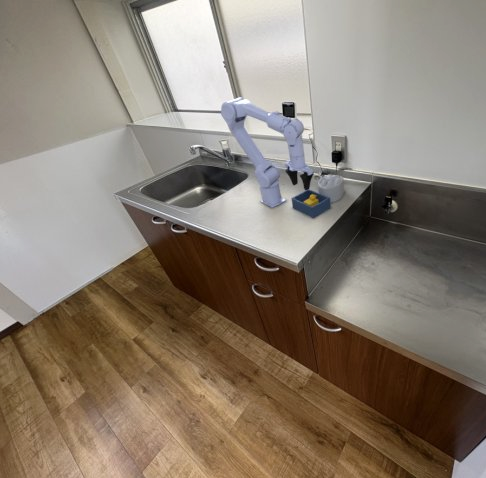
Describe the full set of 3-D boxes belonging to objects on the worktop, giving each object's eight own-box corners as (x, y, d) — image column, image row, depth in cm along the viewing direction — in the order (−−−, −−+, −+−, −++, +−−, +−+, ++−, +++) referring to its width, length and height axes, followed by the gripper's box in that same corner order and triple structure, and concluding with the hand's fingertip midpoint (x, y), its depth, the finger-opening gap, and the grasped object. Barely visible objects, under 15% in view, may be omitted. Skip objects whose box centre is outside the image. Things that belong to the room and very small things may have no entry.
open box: (292, 208, 109) (291, 198, 106) (309, 198, 114) (308, 189, 111) (313, 218, 101) (312, 208, 98) (330, 208, 106) (330, 197, 103)
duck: (303, 208, 107) (302, 196, 104) (313, 202, 110) (312, 191, 107) (310, 211, 105) (308, 199, 101) (320, 205, 107) (319, 194, 104)
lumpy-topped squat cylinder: (346, 190, 116) (345, 173, 111) (335, 204, 107) (335, 186, 102) (325, 188, 121) (324, 171, 115) (314, 201, 112) (312, 183, 107)
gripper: (277, 154, 98) (283, 185, 107) (301, 162, 89) (305, 195, 97) (291, 149, 101) (295, 179, 110) (315, 155, 92) (318, 188, 101)
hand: (301, 186), depth 104 cm, fingers open, 7 cm apart
